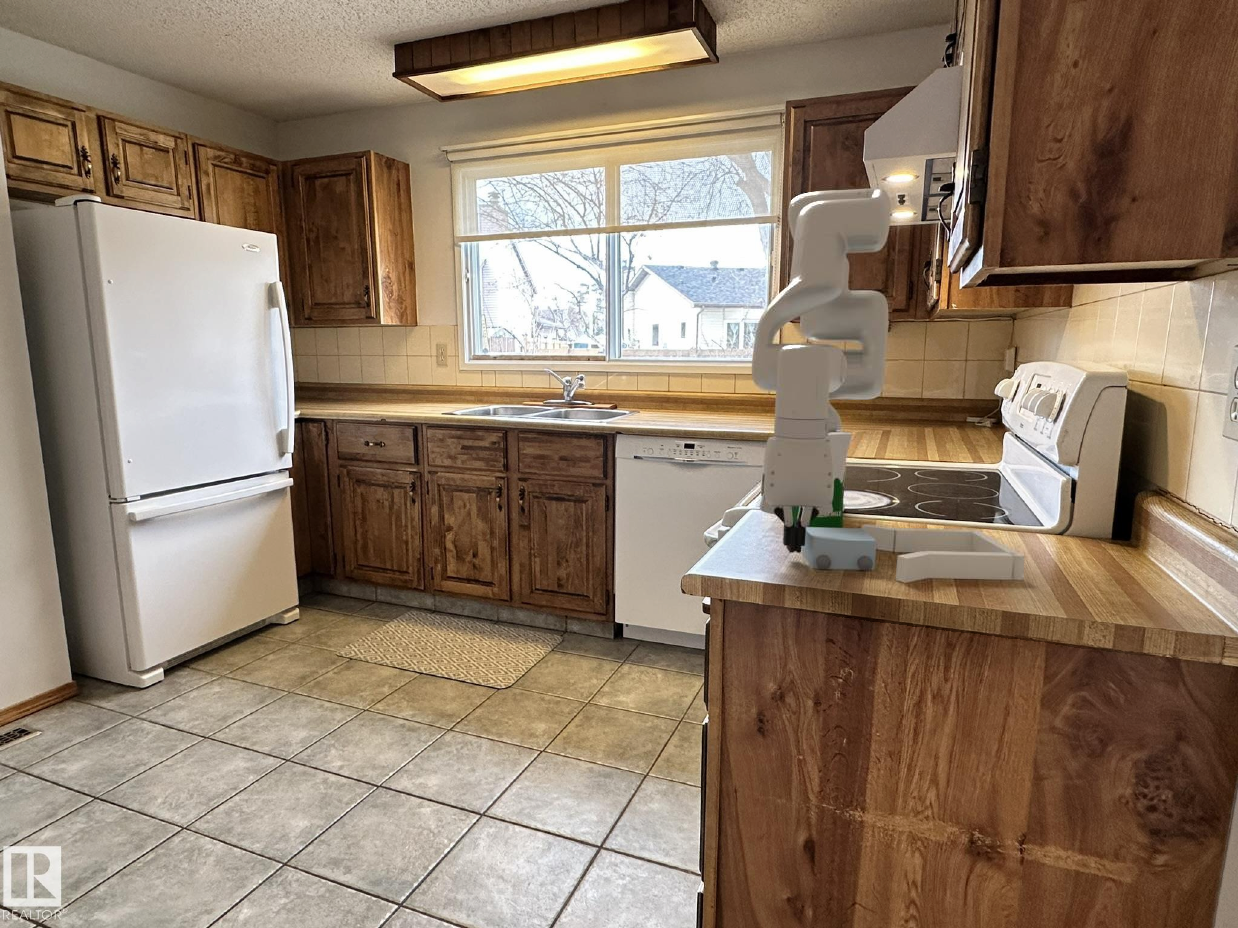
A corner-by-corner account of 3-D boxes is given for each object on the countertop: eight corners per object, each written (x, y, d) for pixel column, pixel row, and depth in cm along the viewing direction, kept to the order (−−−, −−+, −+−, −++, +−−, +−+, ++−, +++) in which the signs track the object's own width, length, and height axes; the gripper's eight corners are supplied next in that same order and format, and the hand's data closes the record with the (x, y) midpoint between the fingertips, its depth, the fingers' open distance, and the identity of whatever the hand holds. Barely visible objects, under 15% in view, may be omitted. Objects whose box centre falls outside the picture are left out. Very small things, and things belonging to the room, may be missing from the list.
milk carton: (822, 525, 127) (829, 415, 123) (851, 538, 118) (859, 421, 115) (779, 528, 124) (784, 416, 121) (805, 541, 116) (812, 422, 112)
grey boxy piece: (801, 553, 110) (802, 525, 109) (858, 554, 109) (860, 527, 108) (813, 570, 101) (815, 540, 100) (875, 572, 101) (878, 542, 100)
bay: (857, 544, 114) (859, 523, 114) (968, 546, 114) (970, 525, 113) (899, 582, 96) (901, 558, 95) (1031, 585, 95) (1034, 561, 95)
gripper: (844, 428, 105) (836, 544, 108) (745, 426, 106) (740, 542, 109) (859, 433, 98) (850, 559, 101) (752, 432, 99) (747, 556, 102)
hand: (793, 550), depth 105 cm, fingers closed
